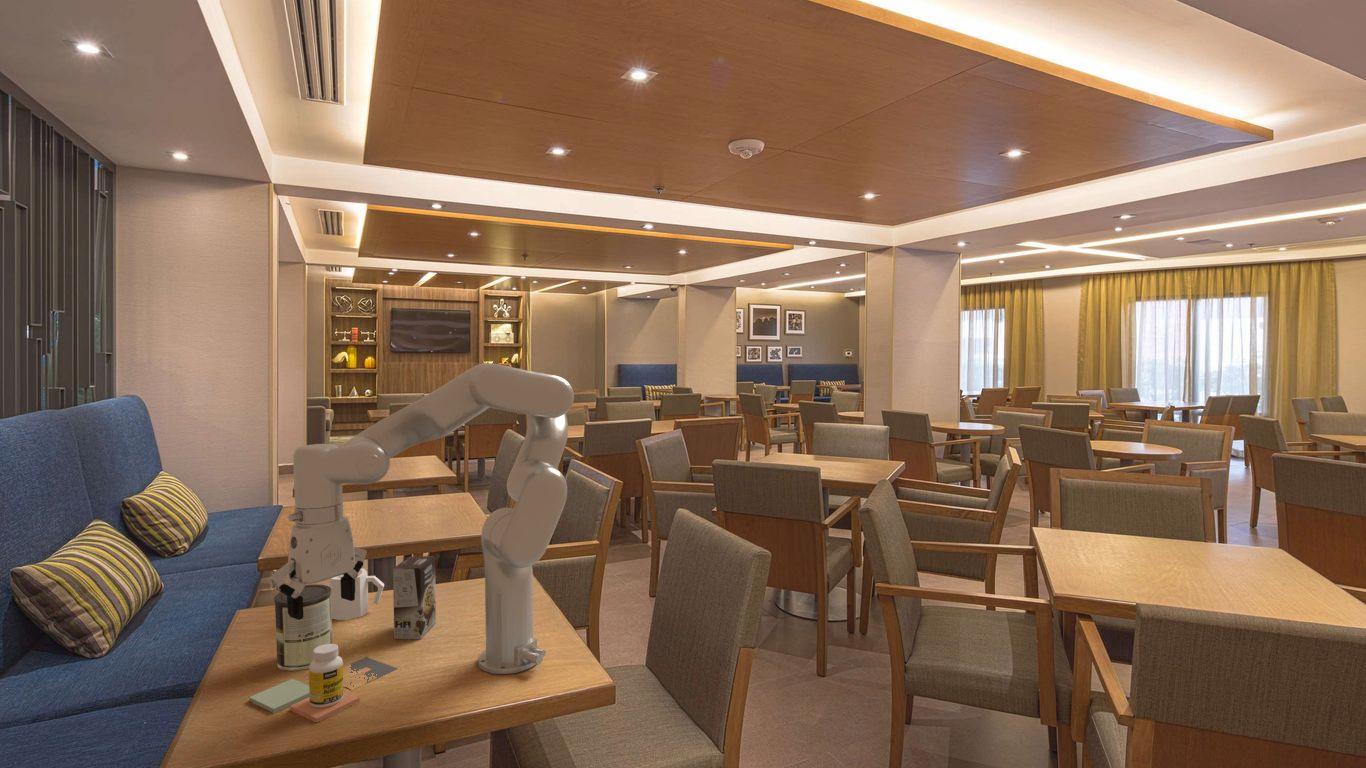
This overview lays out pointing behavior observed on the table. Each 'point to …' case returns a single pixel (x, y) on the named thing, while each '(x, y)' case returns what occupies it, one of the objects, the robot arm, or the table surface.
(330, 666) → the supplement bottle
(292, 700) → the pad sage
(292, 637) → the coffee can
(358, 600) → the mug
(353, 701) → the pad terracotta
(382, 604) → the table surface
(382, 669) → the tile
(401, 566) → the coffee box
